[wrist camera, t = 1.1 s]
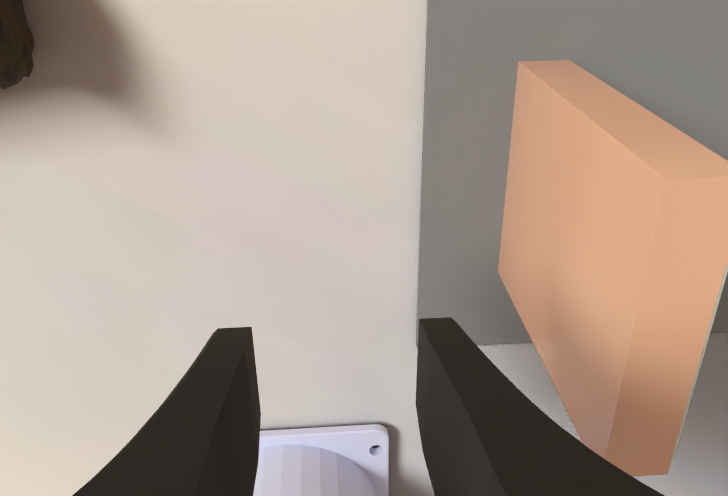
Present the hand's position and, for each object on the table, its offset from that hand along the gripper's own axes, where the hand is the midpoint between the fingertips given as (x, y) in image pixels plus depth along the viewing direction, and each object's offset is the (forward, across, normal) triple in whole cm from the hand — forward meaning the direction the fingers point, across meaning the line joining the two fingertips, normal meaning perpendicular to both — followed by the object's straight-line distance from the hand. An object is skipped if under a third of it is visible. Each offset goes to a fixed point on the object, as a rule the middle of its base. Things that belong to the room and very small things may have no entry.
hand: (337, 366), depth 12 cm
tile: (+9, -6, 0) cm, 11 cm away
